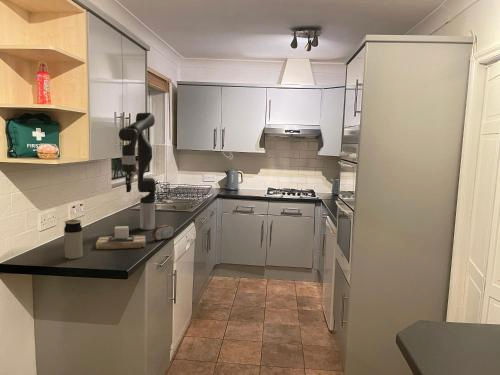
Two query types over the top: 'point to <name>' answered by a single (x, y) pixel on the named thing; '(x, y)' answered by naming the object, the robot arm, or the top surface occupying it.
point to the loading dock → (120, 242)
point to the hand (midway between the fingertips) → (128, 191)
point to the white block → (121, 232)
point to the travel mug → (73, 239)
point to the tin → (163, 232)
